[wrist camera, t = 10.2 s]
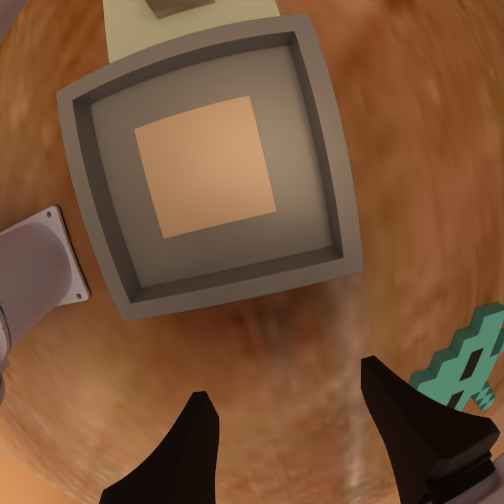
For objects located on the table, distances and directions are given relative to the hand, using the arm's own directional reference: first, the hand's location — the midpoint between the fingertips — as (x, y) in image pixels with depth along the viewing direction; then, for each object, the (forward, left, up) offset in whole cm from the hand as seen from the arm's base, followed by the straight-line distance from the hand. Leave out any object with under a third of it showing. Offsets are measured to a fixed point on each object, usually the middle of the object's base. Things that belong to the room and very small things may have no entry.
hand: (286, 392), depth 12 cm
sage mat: (-1, +24, -9) cm, 26 cm away
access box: (-2, +10, -9) cm, 14 cm away
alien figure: (+22, -18, -10) cm, 30 cm away
